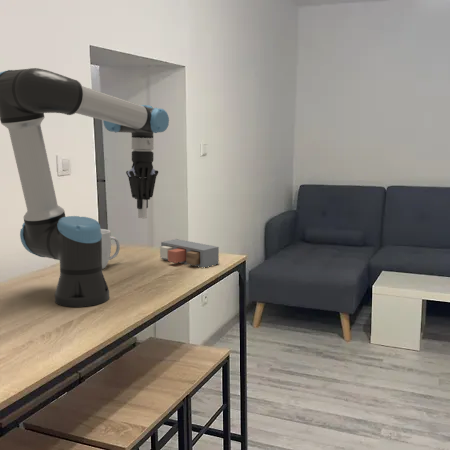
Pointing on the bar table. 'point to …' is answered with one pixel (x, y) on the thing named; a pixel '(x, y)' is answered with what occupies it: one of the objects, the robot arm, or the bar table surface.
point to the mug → (108, 247)
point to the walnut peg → (193, 257)
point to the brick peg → (177, 255)
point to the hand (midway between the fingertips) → (142, 217)
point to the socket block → (207, 252)
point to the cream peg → (165, 251)
